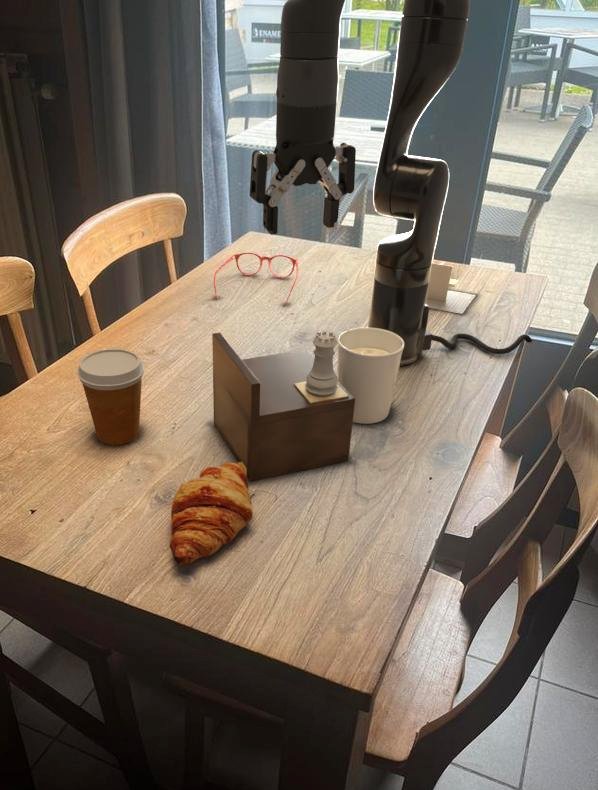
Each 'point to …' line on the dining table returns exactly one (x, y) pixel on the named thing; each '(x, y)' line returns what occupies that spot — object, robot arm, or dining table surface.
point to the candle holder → (369, 370)
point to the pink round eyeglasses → (260, 267)
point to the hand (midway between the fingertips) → (300, 229)
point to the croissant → (209, 511)
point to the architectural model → (445, 291)
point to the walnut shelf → (277, 412)
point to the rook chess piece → (322, 366)
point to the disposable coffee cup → (113, 393)
